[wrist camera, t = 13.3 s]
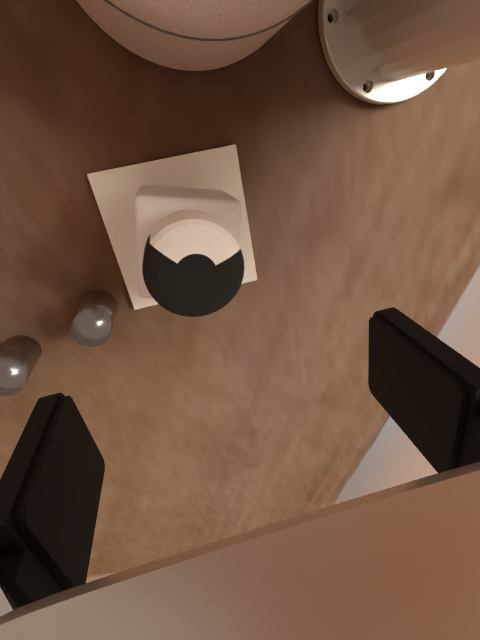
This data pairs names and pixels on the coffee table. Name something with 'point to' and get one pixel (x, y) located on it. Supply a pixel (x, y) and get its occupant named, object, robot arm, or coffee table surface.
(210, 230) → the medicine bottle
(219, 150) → the pad
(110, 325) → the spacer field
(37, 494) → the robot arm
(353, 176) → the coffee table surface
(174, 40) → the container
